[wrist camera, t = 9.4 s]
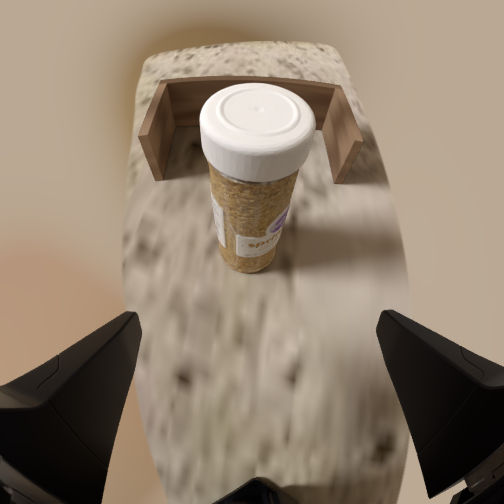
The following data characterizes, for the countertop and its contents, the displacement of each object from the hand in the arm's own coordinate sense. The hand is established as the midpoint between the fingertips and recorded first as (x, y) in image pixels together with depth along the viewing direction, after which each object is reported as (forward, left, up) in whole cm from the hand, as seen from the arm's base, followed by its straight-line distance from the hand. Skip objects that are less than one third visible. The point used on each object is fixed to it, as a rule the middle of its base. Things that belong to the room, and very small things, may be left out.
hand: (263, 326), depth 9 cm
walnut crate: (+12, +13, -11) cm, 20 cm away
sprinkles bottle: (+5, +6, -11) cm, 13 cm away
